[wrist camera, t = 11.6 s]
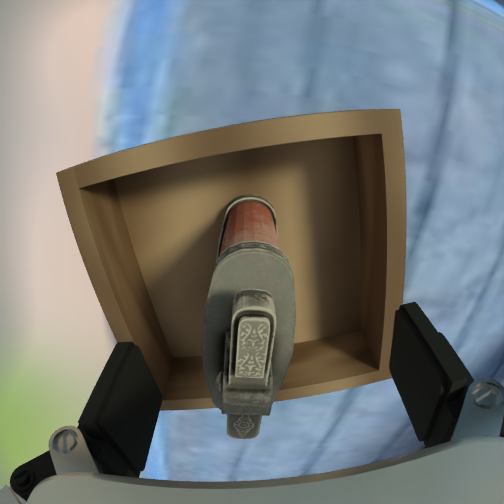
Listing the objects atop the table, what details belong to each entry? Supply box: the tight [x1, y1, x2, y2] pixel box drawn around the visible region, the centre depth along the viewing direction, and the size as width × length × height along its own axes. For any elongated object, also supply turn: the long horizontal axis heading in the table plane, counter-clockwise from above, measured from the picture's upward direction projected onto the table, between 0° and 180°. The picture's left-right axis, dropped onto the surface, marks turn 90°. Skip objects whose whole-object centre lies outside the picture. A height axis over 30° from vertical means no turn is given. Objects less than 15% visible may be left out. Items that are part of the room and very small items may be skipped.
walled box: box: [56, 109, 406, 410], centre depth 17 cm, size 15×15×5 cm
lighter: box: [201, 194, 296, 439], centre depth 14 cm, size 8×3×10 cm, turn 176°
